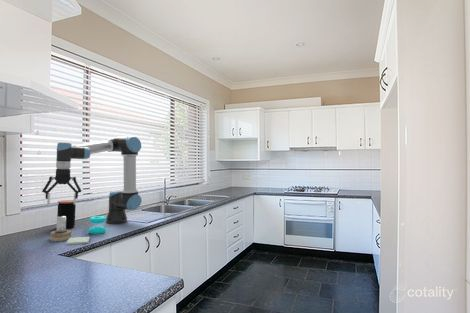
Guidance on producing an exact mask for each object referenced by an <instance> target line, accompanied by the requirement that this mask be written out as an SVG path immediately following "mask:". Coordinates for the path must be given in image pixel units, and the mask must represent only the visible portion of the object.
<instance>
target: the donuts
mask: <svg viewBox="0 0 470 313" xmlns="http://www.w3.org/2000/svg"><path fill="white" fill-rule="evenodd" d="M106 217H107V216H104V215H97V216H91V217H90V218H89V223H90V224H97V226H93V227H90V228H89V229H88V233H90V234H92V235H99V234H103V233H105V232H106V230H107V229H106V227H105V226H103V225H102V226H101V225H98V224H103V223H106Z"/></svg>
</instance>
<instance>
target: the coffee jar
mask: <svg viewBox="0 0 470 313" xmlns="http://www.w3.org/2000/svg"><path fill="white" fill-rule="evenodd" d="M57 203H58V204H57V215H56V218H57V217H58V216H66V230H69V229H72V228H74V227H75V226H76V206H77V205H76V204H74V199H65V200H64V199H63V200H58V201H57Z"/></svg>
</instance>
